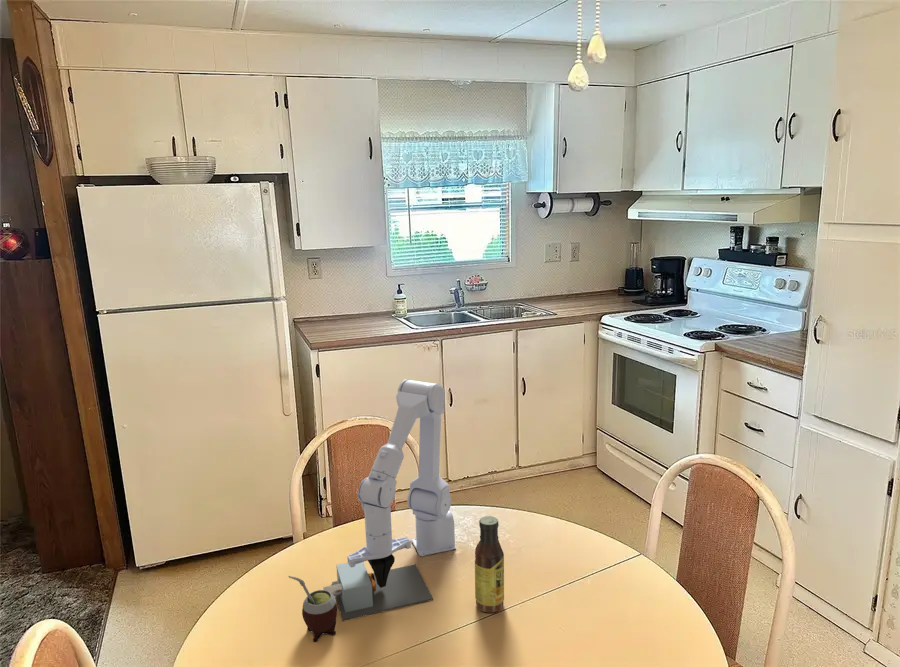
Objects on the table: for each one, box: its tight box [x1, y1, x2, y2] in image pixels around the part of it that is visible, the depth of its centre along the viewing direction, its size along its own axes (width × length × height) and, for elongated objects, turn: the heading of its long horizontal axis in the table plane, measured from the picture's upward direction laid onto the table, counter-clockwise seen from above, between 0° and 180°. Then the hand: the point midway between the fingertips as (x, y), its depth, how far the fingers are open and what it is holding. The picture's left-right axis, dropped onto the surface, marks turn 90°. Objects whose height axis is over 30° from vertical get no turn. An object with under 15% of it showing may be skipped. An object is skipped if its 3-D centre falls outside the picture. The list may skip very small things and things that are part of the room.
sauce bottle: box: [474, 515, 505, 614], centre depth 135 cm, size 6×6×20 cm
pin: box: [322, 572, 376, 598], centre depth 140 cm, size 11×4×4 cm, turn 109°
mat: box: [331, 564, 434, 622], centre depth 143 cm, size 20×14×1 cm
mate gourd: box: [288, 575, 339, 643], centre depth 128 cm, size 8×8×15 cm
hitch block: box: [335, 561, 373, 613], centre depth 140 cm, size 6×10×6 cm, turn 19°
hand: (381, 584), depth 142 cm, fingers closed
